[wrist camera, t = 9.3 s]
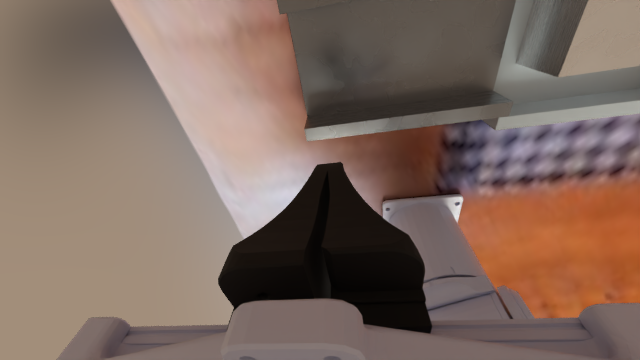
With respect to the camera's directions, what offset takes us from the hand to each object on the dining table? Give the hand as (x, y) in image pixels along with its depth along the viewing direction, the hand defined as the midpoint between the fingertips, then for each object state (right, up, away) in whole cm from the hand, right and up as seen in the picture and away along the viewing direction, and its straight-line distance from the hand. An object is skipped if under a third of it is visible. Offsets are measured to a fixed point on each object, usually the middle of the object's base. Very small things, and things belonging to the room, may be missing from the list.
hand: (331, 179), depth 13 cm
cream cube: (+15, +10, +3) cm, 18 cm away
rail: (+5, +9, +5) cm, 11 cm away
